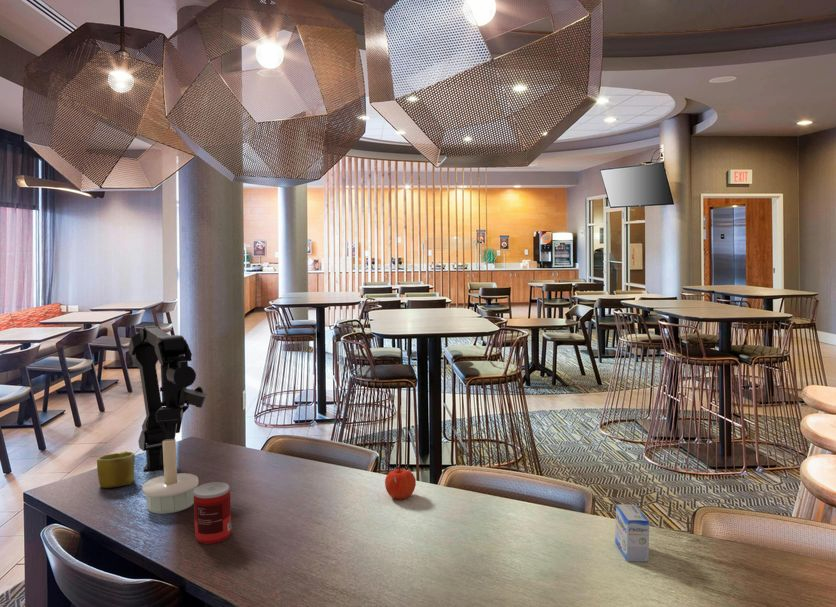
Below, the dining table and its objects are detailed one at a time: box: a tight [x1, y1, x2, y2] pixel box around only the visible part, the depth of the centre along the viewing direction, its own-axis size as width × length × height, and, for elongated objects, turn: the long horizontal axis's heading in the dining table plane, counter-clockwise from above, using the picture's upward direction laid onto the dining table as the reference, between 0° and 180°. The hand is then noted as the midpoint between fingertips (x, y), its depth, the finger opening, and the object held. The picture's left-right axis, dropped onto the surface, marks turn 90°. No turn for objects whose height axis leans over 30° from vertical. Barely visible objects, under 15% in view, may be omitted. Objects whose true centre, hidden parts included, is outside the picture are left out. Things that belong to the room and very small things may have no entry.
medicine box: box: [614, 504, 650, 563], centre depth 120 cm, size 8×4×9 cm, turn 178°
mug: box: [96, 450, 136, 489], centre depth 163 cm, size 12×10×10 cm
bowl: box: [146, 489, 194, 515], centre depth 147 cm, size 11×11×4 cm
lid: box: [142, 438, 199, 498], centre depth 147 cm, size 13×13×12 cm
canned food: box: [193, 481, 232, 545], centre depth 130 cm, size 8×8×11 cm
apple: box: [384, 466, 417, 500], centre depth 150 cm, size 8×8×8 cm
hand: (175, 437), depth 161 cm, fingers open, 9 cm apart
